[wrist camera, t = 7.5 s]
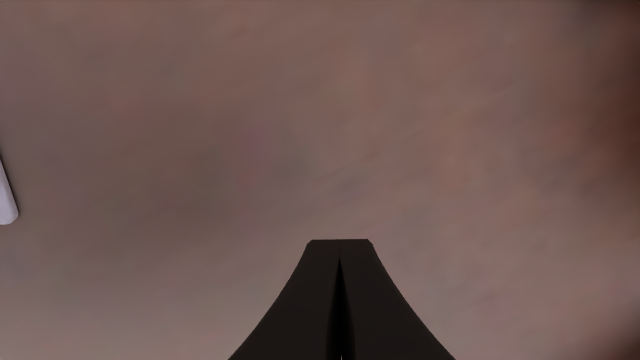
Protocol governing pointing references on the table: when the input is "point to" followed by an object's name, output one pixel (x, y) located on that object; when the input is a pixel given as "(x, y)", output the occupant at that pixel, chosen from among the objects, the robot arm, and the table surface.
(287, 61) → the table surface
